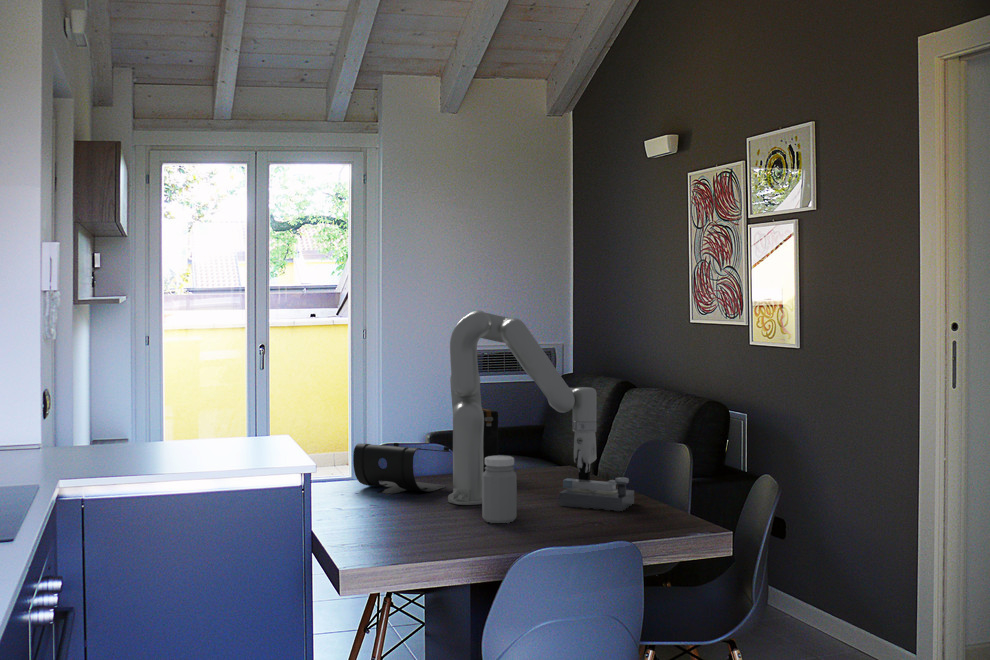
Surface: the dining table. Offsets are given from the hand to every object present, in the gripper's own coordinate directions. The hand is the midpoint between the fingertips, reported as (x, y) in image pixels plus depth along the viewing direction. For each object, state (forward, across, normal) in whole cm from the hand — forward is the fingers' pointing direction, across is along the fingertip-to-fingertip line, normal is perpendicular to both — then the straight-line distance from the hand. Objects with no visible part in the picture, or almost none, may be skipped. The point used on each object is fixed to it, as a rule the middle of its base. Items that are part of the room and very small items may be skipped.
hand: (584, 484), depth 284 cm
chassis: (+5, -5, -6) cm, 9 cm away
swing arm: (0, -5, -5) cm, 7 cm away
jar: (+5, -37, +14) cm, 40 cm away
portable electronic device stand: (+5, -5, +62) cm, 63 cm away
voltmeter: (+5, +24, +46) cm, 53 cm away
